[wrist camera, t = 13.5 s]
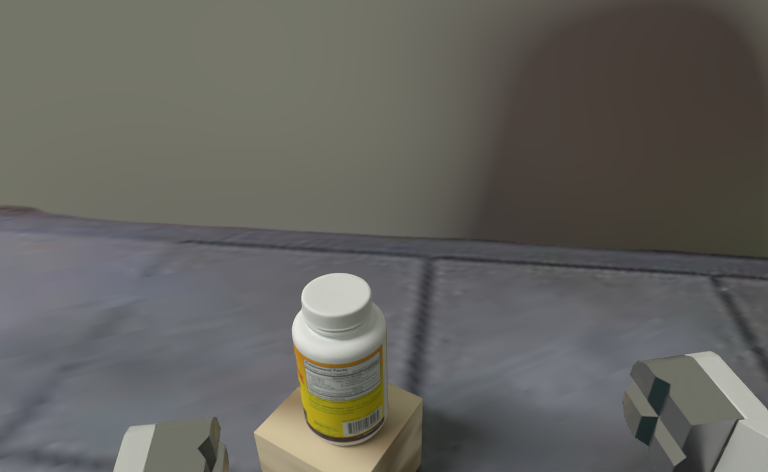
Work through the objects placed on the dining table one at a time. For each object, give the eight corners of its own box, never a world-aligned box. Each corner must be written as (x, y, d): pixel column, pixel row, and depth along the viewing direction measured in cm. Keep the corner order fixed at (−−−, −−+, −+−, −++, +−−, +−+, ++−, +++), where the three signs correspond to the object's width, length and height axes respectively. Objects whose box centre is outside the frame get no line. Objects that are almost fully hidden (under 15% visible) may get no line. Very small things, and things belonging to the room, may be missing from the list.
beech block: (334, 418, 45) (328, 355, 41) (421, 463, 42) (422, 398, 38) (267, 497, 39) (253, 432, 36) (361, 556, 36) (356, 491, 32)
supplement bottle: (327, 374, 40) (316, 256, 34) (400, 396, 38) (400, 275, 33) (288, 434, 36) (267, 310, 30) (368, 462, 34) (361, 335, 28)
